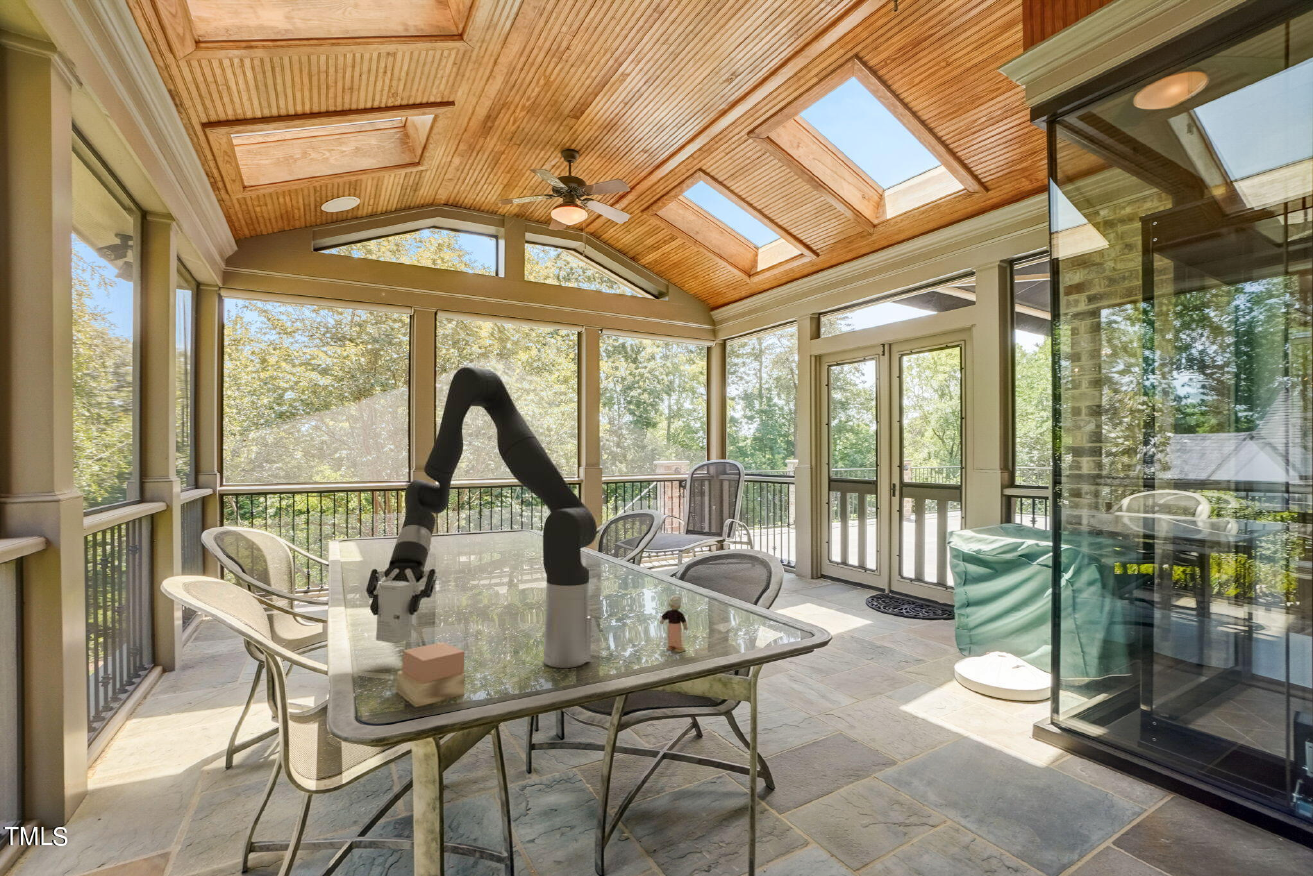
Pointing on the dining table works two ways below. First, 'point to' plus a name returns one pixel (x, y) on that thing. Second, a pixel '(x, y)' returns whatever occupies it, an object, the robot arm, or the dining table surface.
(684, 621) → the grandmother figurine
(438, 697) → the tower base
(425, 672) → the tower top
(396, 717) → the dining table surface
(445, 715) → the dining table surface
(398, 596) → the skincare box
